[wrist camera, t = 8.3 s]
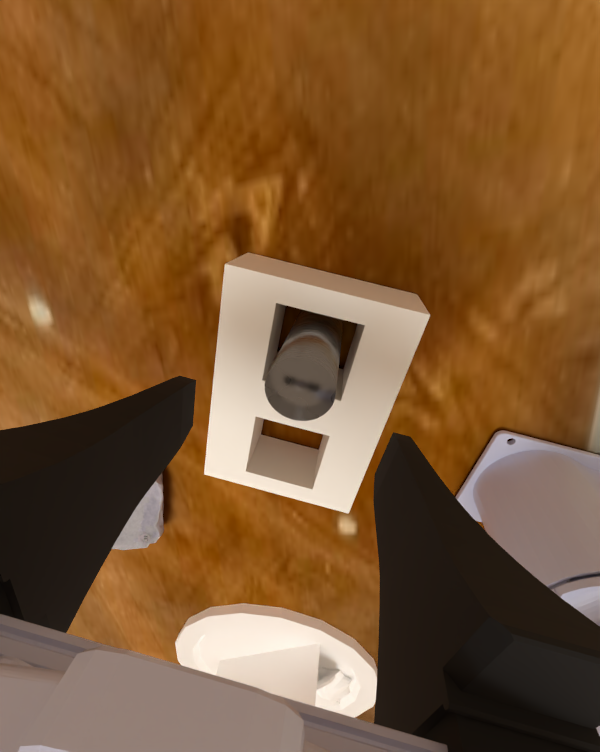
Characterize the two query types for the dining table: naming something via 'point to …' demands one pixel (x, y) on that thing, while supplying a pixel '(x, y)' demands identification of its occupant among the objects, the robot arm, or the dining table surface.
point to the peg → (306, 368)
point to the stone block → (144, 520)
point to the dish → (281, 655)
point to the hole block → (354, 383)
